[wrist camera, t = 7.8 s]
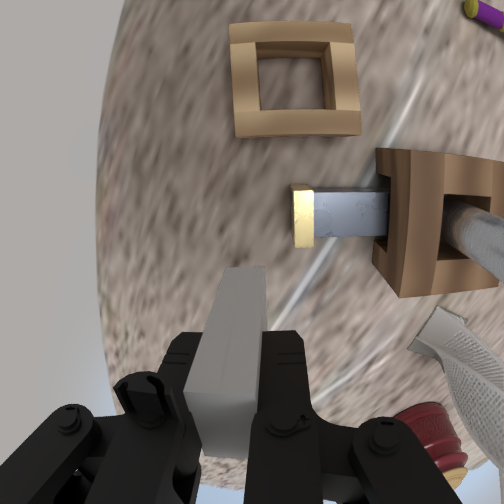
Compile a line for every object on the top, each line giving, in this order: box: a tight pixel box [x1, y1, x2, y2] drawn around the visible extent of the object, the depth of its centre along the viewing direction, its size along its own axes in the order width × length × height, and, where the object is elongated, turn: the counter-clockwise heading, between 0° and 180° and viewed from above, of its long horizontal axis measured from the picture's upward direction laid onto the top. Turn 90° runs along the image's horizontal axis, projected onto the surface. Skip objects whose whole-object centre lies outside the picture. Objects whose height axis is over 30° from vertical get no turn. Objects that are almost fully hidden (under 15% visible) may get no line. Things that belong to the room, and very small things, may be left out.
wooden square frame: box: [229, 21, 362, 139], centre depth 23 cm, size 10×10×5 cm
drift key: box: [290, 184, 391, 248], centre depth 26 cm, size 12×5×4 cm, turn 93°
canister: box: [394, 403, 468, 490], centre depth 32 cm, size 13×13×18 cm
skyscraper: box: [407, 306, 504, 504], centre depth 20 cm, size 8×8×28 cm
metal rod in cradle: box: [440, 195, 504, 283], centre depth 20 cm, size 4×4×16 cm
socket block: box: [372, 148, 504, 298], centre depth 24 cm, size 12×12×8 cm
